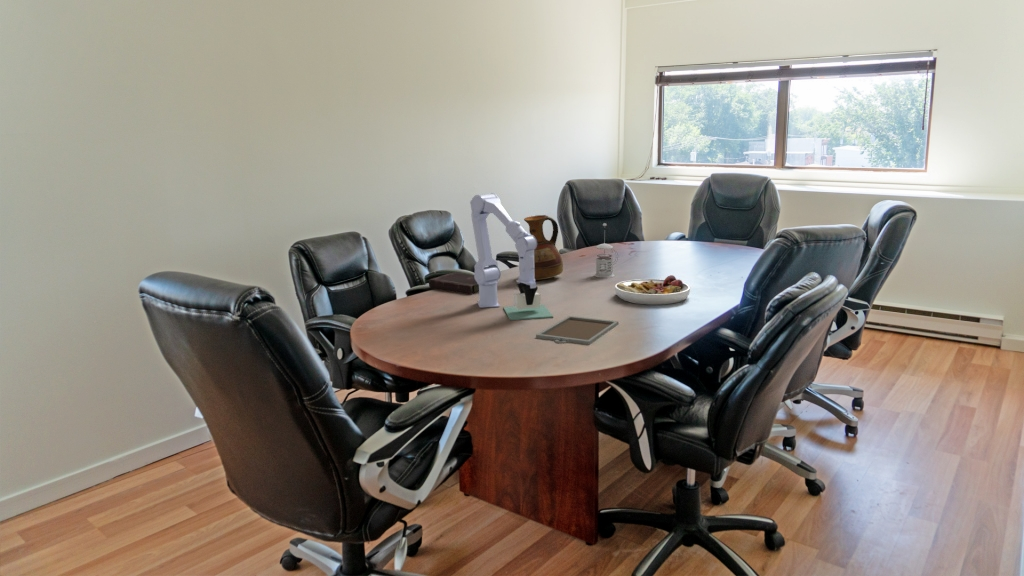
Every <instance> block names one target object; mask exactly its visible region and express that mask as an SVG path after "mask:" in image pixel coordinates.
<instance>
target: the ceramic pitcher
mask: <svg viewBox="0 0 1024 576" xmlns="http://www.w3.org/2000/svg"><path fill="white" fill-rule="evenodd" d="M523 220H524V221H525V222H526V224H528V227H529V228H528V229H529V230H528V231H529V234H530V235H533V236H535V238H536V240H537V247H536V249H535V250H534V275H535V281H536V280H537V281H538V280H547V279H550V278H555V277H557V276H559V275H560V274H562V273H563V272H564V263H563V257H562V255H561V253H560V250H558V248H557V246H556V245H557V244H556V243H557V240H558V235H559V226H558V223H557V221H556V220H555V219H554V218H553V217H551V216H549V215H546V214H543V215H541V214H540V215H539V214H536V215H535V216H532V215H531V216H527V217H525V218H523ZM545 221H550V222H551V225H552V234H551V237H550V239H547V238H546V237H545V234H544V223H545Z"/></svg>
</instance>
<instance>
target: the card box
mask: <svg viewBox="0 0 1024 576" xmlns="http://www.w3.org/2000/svg"><path fill="white" fill-rule="evenodd" d="M540 305H541V294H540V293H539V292H537V291H536V293H535V296H534V300H533V304H532V305H527V304H526V298H525V293H520V292H519V293H513V307H515V308H516V309H528V308H538V307H540Z"/></svg>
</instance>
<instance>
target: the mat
mask: <svg viewBox="0 0 1024 576" xmlns="http://www.w3.org/2000/svg"><path fill="white" fill-rule="evenodd" d="M503 311H504V312H505V313H506V315H507V317H508V319H509V320H510V321H522V320H537V319H538V320H539V319H554V315H553V314H552V313H551V311H550V310H548V308H547V307H546V306H545V304H540V307H538V308H528V309H516V308H515V307H514V306H504V307H503Z"/></svg>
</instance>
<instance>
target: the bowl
mask: <svg viewBox="0 0 1024 576" xmlns="http://www.w3.org/2000/svg"><path fill="white" fill-rule="evenodd" d="M614 291H615V295H617V297H619V299H621V300H623V301H625V302H628V303H632V304H639V305H647V306H650V305H651V306H653V305H654V306H656V305H659V306H660V305H662V306H663V305H671V304H676V303H680V302H682V301H684V300H685V299H687V297H688V296H689V294H690V292H691V287H690V286H689V285H688V284H687V283H685V282H683V281H682V279H680V278H679V279H677V277H675V276H674V275H667V276H666V277H665V278H664V279H660V278H659V279H658V278H639V279H628V280H623V281H620V282H617V283H616V284H615V285H614Z"/></svg>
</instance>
